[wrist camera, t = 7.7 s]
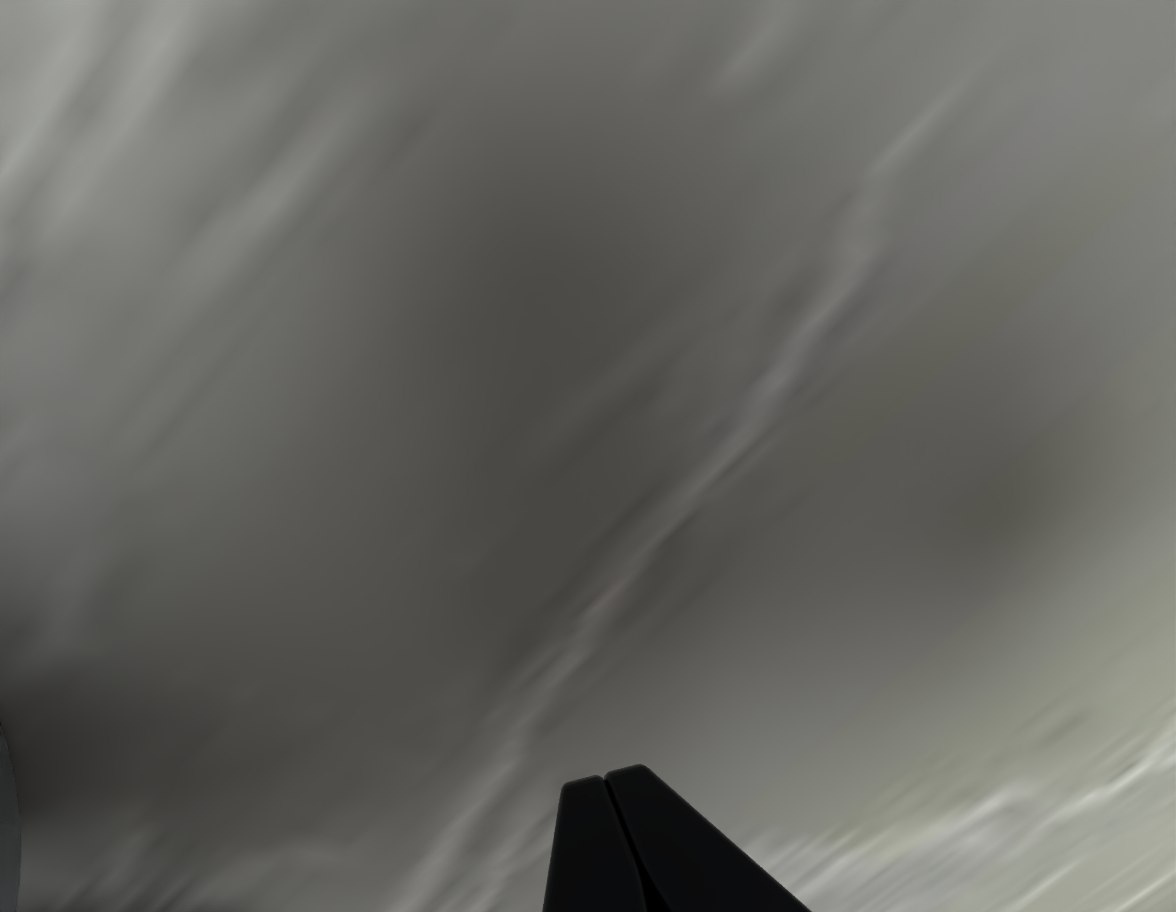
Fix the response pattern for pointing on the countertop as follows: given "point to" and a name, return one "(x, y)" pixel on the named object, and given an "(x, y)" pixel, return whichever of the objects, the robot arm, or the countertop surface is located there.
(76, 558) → the countertop surface
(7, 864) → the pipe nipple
